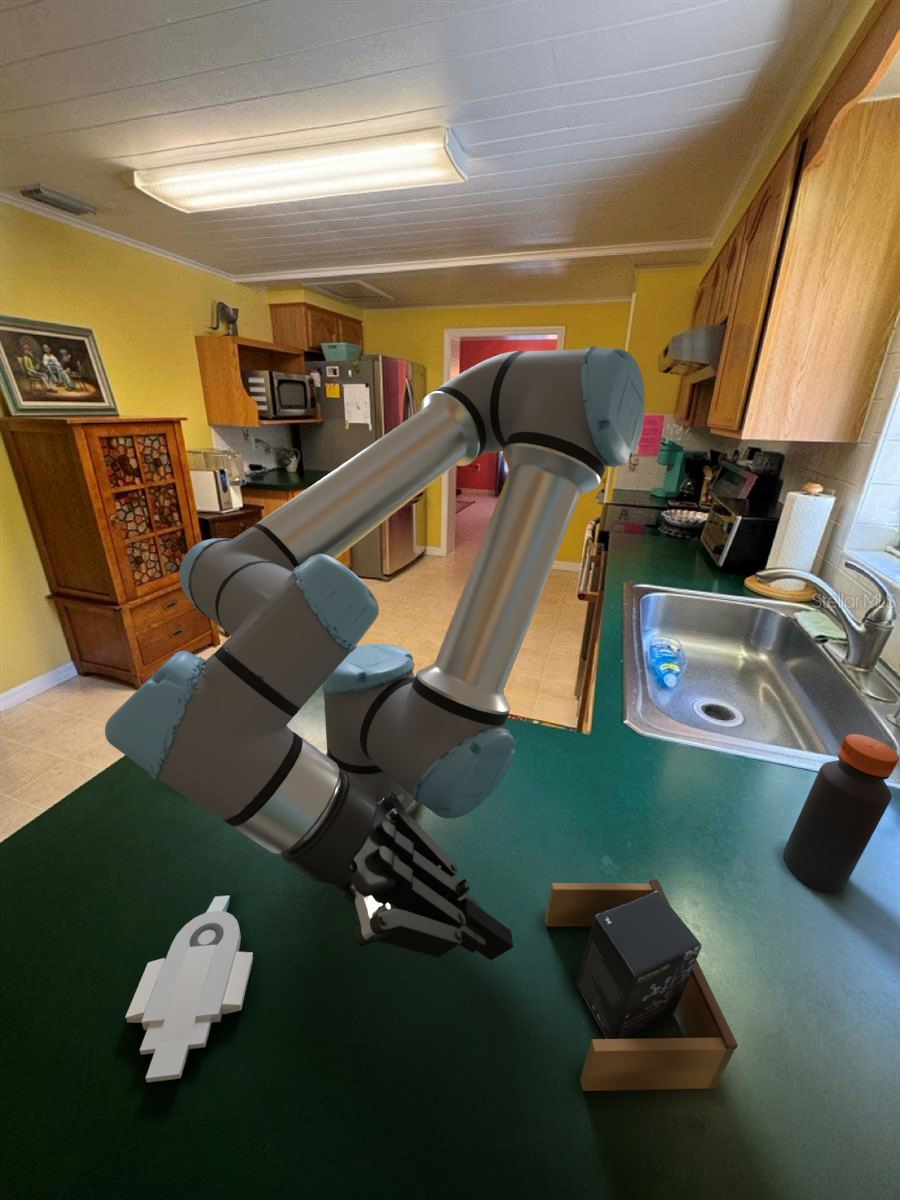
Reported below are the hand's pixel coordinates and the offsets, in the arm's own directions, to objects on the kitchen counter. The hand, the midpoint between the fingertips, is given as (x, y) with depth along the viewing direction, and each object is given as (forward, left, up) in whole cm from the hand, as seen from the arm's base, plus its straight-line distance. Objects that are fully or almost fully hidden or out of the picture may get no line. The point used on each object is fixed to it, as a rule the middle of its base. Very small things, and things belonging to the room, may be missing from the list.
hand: (500, 945), depth 44 cm
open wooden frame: (+11, +5, -7) cm, 14 cm away
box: (+12, +5, -7) cm, 15 cm away
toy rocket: (-27, -11, -7) cm, 30 cm away
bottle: (+34, +31, -7) cm, 47 cm away
